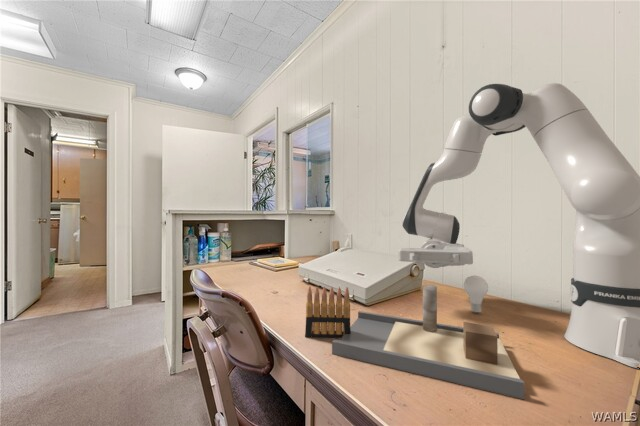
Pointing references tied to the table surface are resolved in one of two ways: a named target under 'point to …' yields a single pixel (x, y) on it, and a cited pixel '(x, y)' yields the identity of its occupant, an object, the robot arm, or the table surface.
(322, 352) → the table surface
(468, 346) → the walnut block
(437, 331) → the sliding platform with post
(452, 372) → the rail base
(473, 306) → the lightbulb
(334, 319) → the ammunition clip
